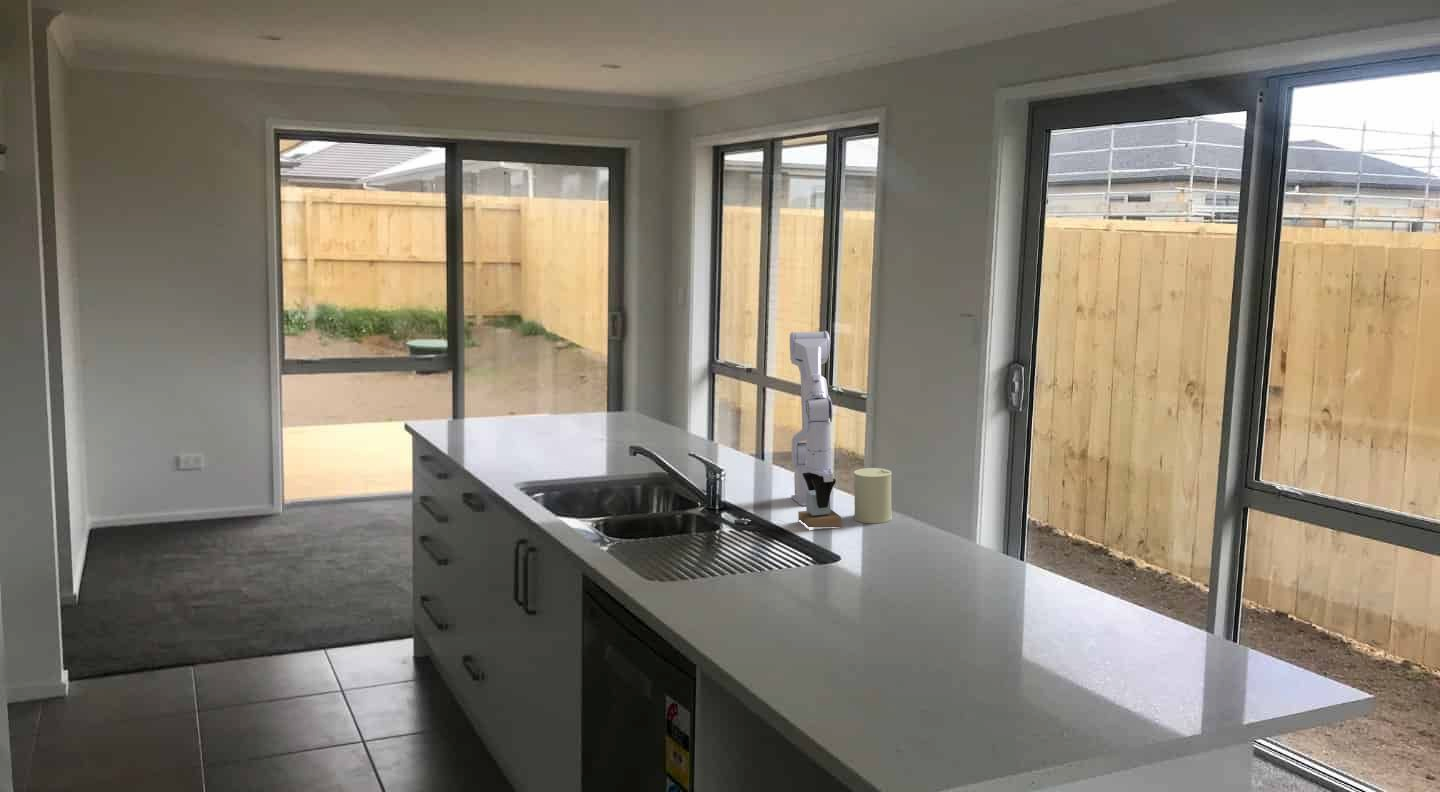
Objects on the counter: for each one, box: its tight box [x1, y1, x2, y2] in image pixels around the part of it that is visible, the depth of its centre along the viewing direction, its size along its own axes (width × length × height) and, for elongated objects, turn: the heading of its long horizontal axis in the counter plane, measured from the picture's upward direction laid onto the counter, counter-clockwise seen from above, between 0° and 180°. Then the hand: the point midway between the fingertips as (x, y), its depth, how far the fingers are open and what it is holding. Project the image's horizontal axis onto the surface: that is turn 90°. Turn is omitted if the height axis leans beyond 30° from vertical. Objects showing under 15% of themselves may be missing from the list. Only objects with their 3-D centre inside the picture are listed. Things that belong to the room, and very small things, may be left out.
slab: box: [797, 508, 842, 528], centre depth 273 cm, size 8×8×3 cm
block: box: [805, 490, 831, 516], centre depth 272 cm, size 4×4×5 cm
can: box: [853, 467, 893, 524], centre depth 276 cm, size 9×9×12 cm
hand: (819, 504), depth 272 cm, fingers closed on block, 4 cm apart
